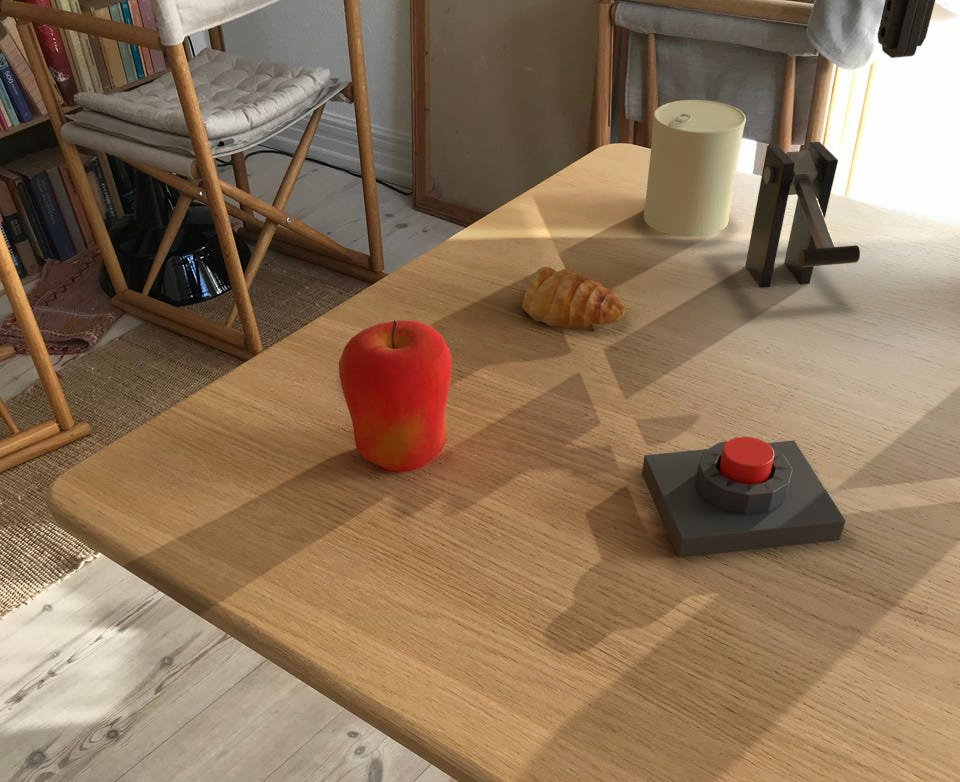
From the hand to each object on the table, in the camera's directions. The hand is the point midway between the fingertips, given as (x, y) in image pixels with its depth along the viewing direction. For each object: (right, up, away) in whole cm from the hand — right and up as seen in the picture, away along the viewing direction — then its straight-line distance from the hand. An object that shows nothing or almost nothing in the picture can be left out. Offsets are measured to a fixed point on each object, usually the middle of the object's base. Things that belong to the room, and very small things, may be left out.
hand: (897, 53), depth 72 cm
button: (-10, -28, +4) cm, 30 cm away
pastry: (-20, -10, +27) cm, 35 cm away
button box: (-10, -31, +6) cm, 33 cm away
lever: (+1, -3, +22) cm, 22 cm away
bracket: (0, -6, +31) cm, 31 cm away
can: (-7, +3, +40) cm, 41 cm away
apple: (-35, -26, +12) cm, 45 cm away
